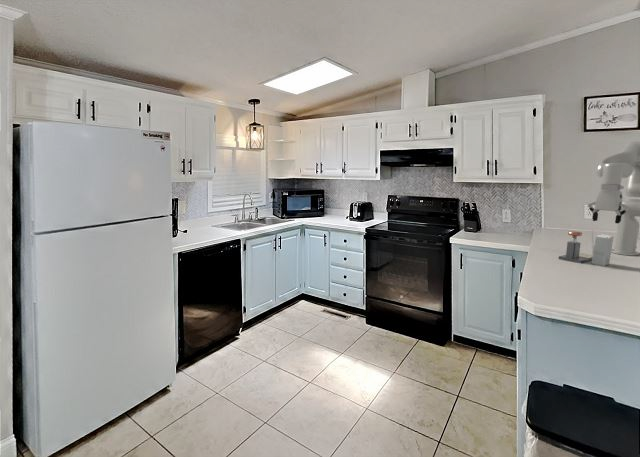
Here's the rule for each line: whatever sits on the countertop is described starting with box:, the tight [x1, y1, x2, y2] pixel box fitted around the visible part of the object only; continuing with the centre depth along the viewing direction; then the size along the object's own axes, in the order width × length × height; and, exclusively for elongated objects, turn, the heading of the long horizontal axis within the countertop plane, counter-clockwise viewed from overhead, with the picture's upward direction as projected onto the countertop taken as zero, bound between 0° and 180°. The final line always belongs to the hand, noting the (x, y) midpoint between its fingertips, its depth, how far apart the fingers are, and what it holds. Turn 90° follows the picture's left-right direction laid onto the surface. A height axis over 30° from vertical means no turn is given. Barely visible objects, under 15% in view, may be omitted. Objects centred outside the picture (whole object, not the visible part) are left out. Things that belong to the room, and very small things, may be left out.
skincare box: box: [591, 233, 614, 267], centre depth 185 cm, size 8×6×15 cm
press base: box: [558, 240, 593, 264], centre depth 195 cm, size 17×11×10 cm, turn 119°
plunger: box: [567, 230, 583, 243], centre depth 192 cm, size 6×6×10 cm
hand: (605, 221), depth 183 cm, fingers open, 9 cm apart
